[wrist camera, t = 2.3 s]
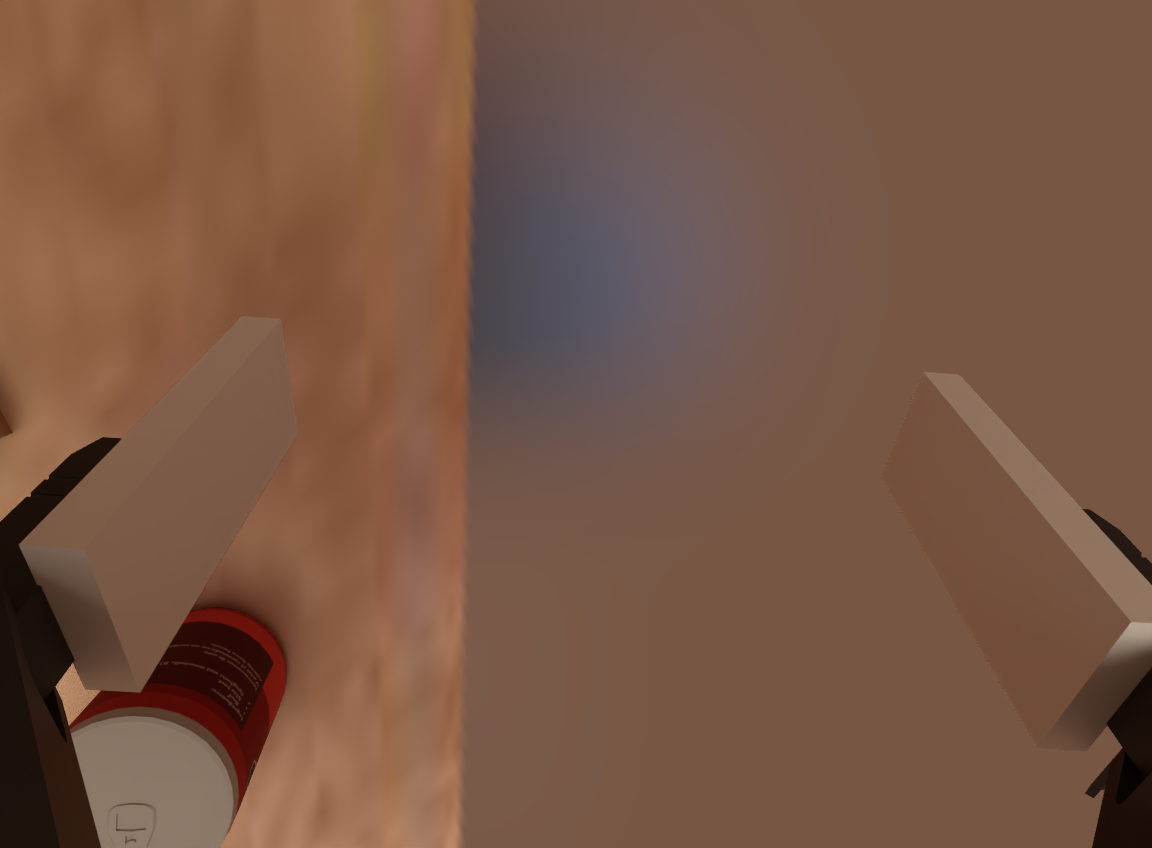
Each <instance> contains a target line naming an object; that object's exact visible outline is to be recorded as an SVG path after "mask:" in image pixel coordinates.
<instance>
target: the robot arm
mask: <svg viewBox="0 0 1152 848" xmlns="http://www.w3.org/2000/svg"><path fill="white" fill-rule="evenodd" d="M297 435H298V427H297V420H296V414H295V407H294V401H293V394H292V388H291V381H290V375H289V368H288V361H287V355H286V348H285V342H284V335H283V329H282V322H281V319H275V318H263V317H250V316H241V317H240V318H239V319H238V321H237V322H236V323H235V324H234V325H233V326H232V327H231V328H230V329H229V330H228V331H227V332H226V333H225V334H224V335H223V336H222V337H221V338H220V339H219V340H218V341H217V342H216V343H215V344H214V345H213V346H212V347H211V348H210V349H209V350H208V351H207V352H206V353H205V354H204V355H203V356H202V357H201V358H200V359H199V361H198V362H197V363H196V364H195V365H194V366H193V367H192V368H191V369H190V370H189V371H188V372H187V373H186V374H185V375H184V376H183V377H182V378H181V379H180V380H179V381H178V382H177V383H176V384H175V385H174V386H173V387H172V388H171V389H170V390H169V391H168V392H167V393H166V394H165V395H164V396H163V397H162V398H161V399H160V401H159V402H158V403H157V404H156V405H155V406H154V407H153V408H152V409H151V410H150V411H149V412H148V413H147V414H146V415H145V416H144V417H143V418H142V419H141V420H140V421H139V422H138V423H137V424H136V425H135V426H134V427H133V428H132V429H131V430H130V431H129V432H128V433H127V434H126V435H125V436H124V437H123V438H122V439H120V438H107V437H102V438H100V439H99V440H97V441H95V442H93V443H91V444H89V445H87V446H86V447H84V448H82V449H80V450H78V451H76V452H74V453H73V454H71V455H70V456H69V457H68V458H67V459H66V460H65V461H64V462H62V463H61V464H60V465H59V466H58V467H57V468H56V469H55V470H54V471H53V472H52V473H51V474H50V475H49V479H48V480H44V481H43V482H41V483H40V484H39V485H38V486H37V487H36V488H35V489H34V490H33V491H32V492H31V496H30V497H26V498H25V499H24V500H23V501H22V502H21V503H19V504H18V505H17V506H16V507H15V508H14V509H13V510H12V511H11V512H10V513H9V514H8V515H7V516H6V517H5V518H4V519H3V520H2V521H1V522H0V848H101V844H100V840H99V837H98V833H97V829H96V826H95V822H94V818H93V814H92V811H91V807H90V803H89V799H88V796H87V792H86V788H85V785H84V781H83V777H82V773H81V770H80V766H79V762H78V758H77V755H76V751H75V747H74V744H73V740H72V736H71V732H70V729H69V725H68V721H67V717H66V714H65V710H64V706H63V702H62V699H61V697H60V695H59V693H58V691H57V689H56V687H55V686H56V685H57V683H58V682H59V681H60V679H61V678H62V677H63V675H64V674H65V672H66V671H67V670H68V668H69V667H70V666H71V664H72V663H73V664H74V666H75V668H76V670H77V673H78V675H79V677H80V679H81V681H82V683H83V686H84V688H85V689H90V690H106V691H122V692H138V693H140V692H141V691H142V689H143V687H144V686H145V684H146V682H147V681H148V679H149V678H150V676H151V674H152V673H153V671H154V669H155V668H156V666H157V664H158V663H159V661H160V660H161V658H162V656H163V655H164V653H165V651H166V650H167V648H168V646H169V645H170V643H171V641H172V640H173V638H174V637H175V635H176V633H177V632H178V630H179V628H180V627H181V625H182V623H183V622H184V620H185V619H186V617H187V615H188V614H189V612H190V610H191V609H192V607H193V605H194V604H195V602H196V601H197V599H198V597H199V596H200V594H201V592H202V591H203V589H204V587H205V586H206V584H207V582H208V581H209V579H210V578H211V576H212V574H213V573H214V571H215V569H216V568H217V566H218V564H219V563H220V561H221V560H222V558H223V556H224V555H225V553H226V551H227V550H228V548H229V546H230V545H231V543H232V542H233V540H234V538H235V537H236V535H237V533H238V532H239V530H240V528H241V527H242V525H243V523H244V522H245V520H246V519H247V517H248V515H249V514H250V512H251V510H252V509H253V507H254V505H255V504H256V502H257V501H258V499H259V497H260V496H261V494H262V492H263V491H264V489H265V487H266V486H267V484H268V483H269V481H270V479H271V478H272V476H273V474H274V473H275V471H276V469H277V468H278V466H279V464H280V463H281V461H282V460H283V458H284V456H285V455H286V453H287V451H288V450H289V448H290V446H291V445H292V443H293V442H294V440H295V438H296V437H297ZM881 479H882V480H883V483H884V484H885V486H886V488H887V489H888V491H889V493H890V495H891V496H892V498H893V500H894V502H895V503H896V505H897V507H898V508H899V510H900V512H901V514H902V515H903V517H904V519H905V520H906V522H907V524H908V526H909V528H910V529H911V530H912V533H913V535H914V536H915V538H916V539H917V541H918V543H919V545H920V547H921V548H922V550H923V552H924V553H925V555H926V557H927V559H928V561H929V562H930V564H931V566H932V567H933V569H934V571H935V573H936V574H937V576H938V578H939V579H940V581H941V583H942V585H943V587H944V588H945V590H946V592H947V593H948V595H949V597H950V599H951V600H952V602H953V604H954V606H955V607H956V609H957V611H958V612H959V614H960V616H961V618H962V619H963V621H964V623H965V625H966V626H967V628H968V630H969V632H970V633H971V635H972V637H973V638H974V640H975V642H976V644H977V645H978V647H979V649H980V651H981V652H982V654H983V656H984V658H985V659H986V661H987V663H988V665H989V666H990V668H991V670H992V671H993V673H994V675H995V677H996V678H997V680H998V682H999V684H1000V685H1001V687H1002V689H1003V691H1004V692H1005V694H1006V696H1007V697H1008V699H1009V701H1010V702H1011V704H1012V706H1013V707H1014V710H1015V711H1016V713H1017V715H1018V717H1019V718H1020V720H1021V722H1022V723H1023V725H1024V727H1025V729H1026V730H1027V732H1028V734H1029V736H1030V737H1031V739H1032V741H1033V742H1034V744H1035V746H1036V748H1043V749H1059V750H1076V751H1087V750H1088V749H1089V747H1090V746H1091V745H1092V744H1093V743H1094V741H1095V740H1096V739H1097V737H1098V736H1099V735H1100V734H1101V733H1102V732H1103V730H1104V729H1105V728H1106V727H1107V725H1108V727H1109V728H1110V730H1111V731H1112V733H1113V734H1114V736H1115V737H1116V738H1117V740H1118V741H1119V743H1120V744H1121V746H1122V747H1123V748H1122V749H1121V750H1120V752H1119V753H1118V754H1117V755H1116V756H1115V758H1114V759H1113V760H1112V761H1111V762H1110V763H1109V764H1108V765H1107V767H1106V768H1105V769H1104V770H1103V771H1102V772H1101V774H1100V775H1099V776H1098V777H1097V778H1096V779H1095V781H1094V782H1093V783H1092V784H1091V785H1090V787H1089V788H1088V790H1087V791H1086V794H1088V795H1089V796H1091V797H1093V798H1094V797H1095V796H1096V795H1097V794H1098V793H1099V791H1100V790H1104V789H1105V791H1104V795H1103V800H1102V805H1101V809H1100V814H1099V818H1098V823H1097V828H1096V832H1095V836H1094V841H1093V846H1092V848H1152V564H1151V563H1150V561H1149V560H1147V558H1143V557H1141V554H1142V553H1141V552H1140V551H1139V550H1138V549H1137V548H1136V547H1135V546H1134V545H1133V544H1132V542H1131V541H1130V540H1129V539H1128V538H1127V537H1126V536H1125V535H1124V534H1123V533H1122V532H1121V531H1120V530H1119V529H1117V528H1116V527H1114V526H1113V525H1112V524H1110V523H1108V522H1107V521H1106V520H1104V519H1103V518H1101V517H1100V516H1098V515H1097V514H1095V513H1094V512H1093V511H1091V510H1088V509H1082V508H1081V507H1080V506H1079V505H1078V504H1077V503H1076V502H1075V501H1074V500H1073V499H1072V497H1071V496H1070V495H1069V494H1068V493H1067V492H1066V491H1065V490H1064V489H1063V488H1062V487H1061V486H1060V485H1059V483H1058V482H1057V481H1056V480H1055V479H1054V478H1053V477H1052V476H1051V474H1050V473H1049V472H1048V471H1047V470H1046V469H1045V468H1044V467H1043V466H1042V465H1041V464H1040V463H1039V461H1038V460H1037V459H1036V458H1035V457H1034V456H1033V455H1032V454H1031V453H1030V452H1029V450H1028V449H1027V448H1026V447H1025V446H1024V445H1023V444H1022V443H1021V442H1020V441H1019V439H1018V438H1017V437H1016V436H1015V435H1014V434H1013V433H1012V432H1011V431H1010V430H1009V429H1008V427H1007V426H1006V425H1005V424H1004V423H1003V422H1002V421H1001V420H1000V419H999V418H998V416H997V415H996V414H995V413H994V412H993V411H992V410H991V409H990V408H989V407H988V406H987V405H986V403H985V402H984V401H983V400H982V399H981V398H980V397H979V396H978V395H977V394H976V392H975V391H974V390H973V389H972V388H971V387H970V386H969V385H968V384H967V383H966V381H965V380H964V379H963V378H962V377H961V376H960V375H955V374H943V373H931V372H923V374H922V377H921V379H920V381H919V384H918V386H917V389H916V391H915V394H914V396H913V399H912V401H911V404H910V406H909V409H908V411H907V414H906V416H905V419H904V421H903V424H902V426H901V429H900V431H899V434H898V436H897V439H896V441H895V444H894V446H893V449H892V451H891V453H890V456H889V458H888V461H887V463H886V466H885V469H884V471H883V473H882V476H881Z"/></svg>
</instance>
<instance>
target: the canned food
mask: <svg viewBox="0 0 1152 848" xmlns="http://www.w3.org/2000/svg"><path fill="white" fill-rule="evenodd" d="M285 684H286V671H285V663H284V659H283V656H282V652H281V648H280V647H279V645H278V643H277V641H276V639H275V637H274V636H273V635H272V634H271V632H270V631H269V630H268V629H267V628H266V627H265V626H264V625H263V624H261V623H260V622H259V621H258V620H256V619H255V618H253V617H251V616H249V615H247V614H245V613H242V612H239V611H235V610H232V609H225V608H206V609H200V610H196V611H192V612H189V614H188V615H187V617H186V619H185V620H184V622H183V623H182V625H181V627H180V628H179V630H178V632H177V633H176V635H175V637H174V638H173V640H172V641H171V643H170V645H169V646H168V648H167V650H166V651H165V653H164V655H163V656H162V658H161V660H160V661H159V663H158V664H157V666H156V668H155V669H154V671H153V673H152V674H151V676H150V678H149V679H148V681H147V682H146V684H145V686H144V687H143V689H142V691H141V692H140V693H138V692H122V691H106V690H101V691H100V692H99V693H98V695H97V696H96V697H95V698H94V699H93V700H92V701H91V702H90V703H89V705H88V706H87V707H86V708H85V709H84V710H83V711H82V712H81V713H80V715H79V716H78V717H77V718H76V719H75V720H74V721H73V722H72V723H71V725H70V726H69V729H70V732H71V736H72V740H73V744H74V747H75V751H76V755H77V758H78V762H79V766H80V770H81V773H82V777H83V781H84V785H85V788H86V792H87V796H88V799H89V803H90V807H91V811H92V814H93V818H94V822H95V826H96V829H97V833H98V837H99V840H100V844H101V848H219V847H220V845H221V844H222V842H223V841H224V839H225V837H226V835H227V834H228V832H229V830H230V829H231V826H232V824H233V821H234V819H235V816H236V814H237V812H238V810H239V808H240V805H241V802H242V800H243V797H244V795H245V792H246V790H247V787H248V785H249V782H250V780H251V777H252V774H253V772H254V769H255V767H256V764H257V762H258V759H259V757H260V754H261V752H262V749H263V746H264V744H265V741H266V739H267V736H268V734H269V731H270V729H271V726H272V724H273V721H274V718H275V716H276V713H277V711H278V708H279V706H280V703H281V700H282V698H283V695H284V690H285Z"/></svg>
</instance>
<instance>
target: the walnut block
mask: <svg viewBox="0 0 1152 848" xmlns="http://www.w3.org/2000/svg"><path fill="white" fill-rule="evenodd" d="M11 433H13V432H12V431H11V429H10V427H9V425H8V423H7V422H6V420H5V418H4V416H3V414H2V413H1V411H0V437H3V436H6V435H9V434H11Z"/></svg>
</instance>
